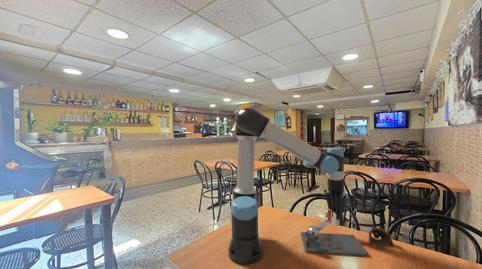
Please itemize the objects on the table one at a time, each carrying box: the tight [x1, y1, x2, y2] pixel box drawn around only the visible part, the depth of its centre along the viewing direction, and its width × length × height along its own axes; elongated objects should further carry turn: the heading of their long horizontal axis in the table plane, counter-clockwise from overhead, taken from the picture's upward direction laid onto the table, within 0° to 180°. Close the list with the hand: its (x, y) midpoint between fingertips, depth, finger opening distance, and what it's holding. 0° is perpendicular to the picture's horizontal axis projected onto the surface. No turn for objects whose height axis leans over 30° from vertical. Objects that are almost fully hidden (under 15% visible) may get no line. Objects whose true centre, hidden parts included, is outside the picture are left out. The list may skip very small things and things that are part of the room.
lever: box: [304, 209, 333, 241], centre depth 101 cm, size 22×4×9 cm, turn 133°
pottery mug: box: [368, 225, 394, 247], centre depth 97 cm, size 12×10×8 cm
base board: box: [300, 231, 367, 257], centre depth 96 cm, size 25×14×7 cm, turn 82°
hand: (336, 225), depth 104 cm, fingers closed
